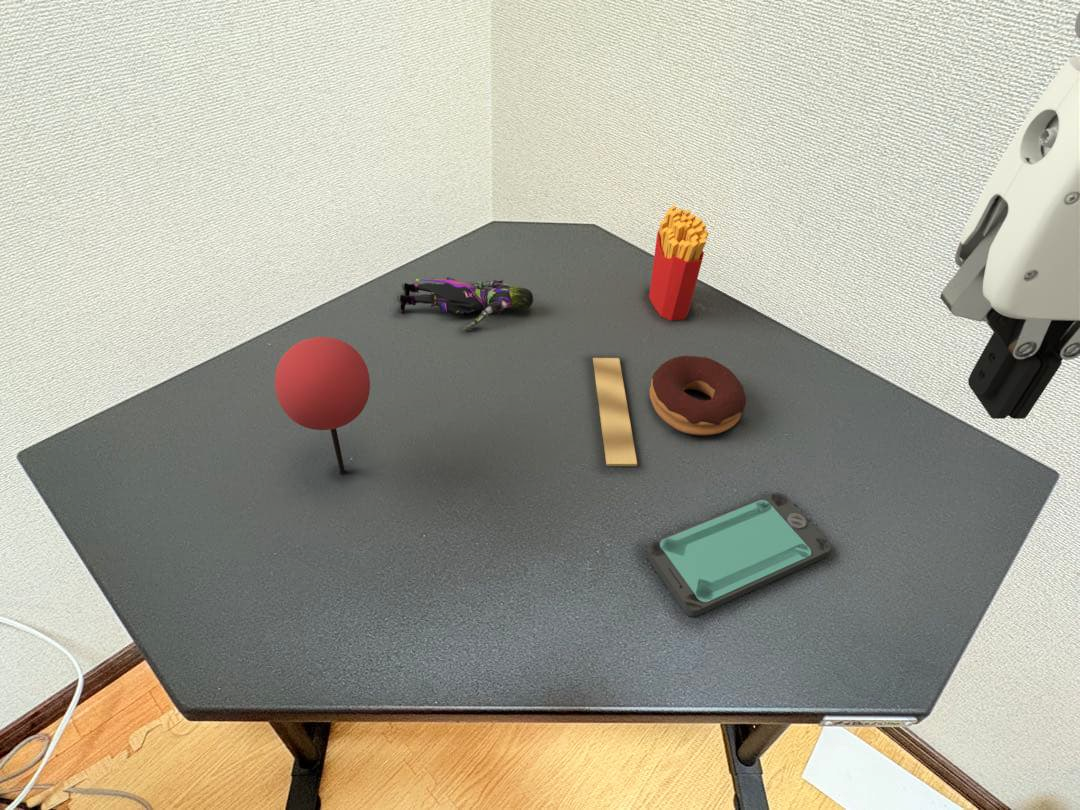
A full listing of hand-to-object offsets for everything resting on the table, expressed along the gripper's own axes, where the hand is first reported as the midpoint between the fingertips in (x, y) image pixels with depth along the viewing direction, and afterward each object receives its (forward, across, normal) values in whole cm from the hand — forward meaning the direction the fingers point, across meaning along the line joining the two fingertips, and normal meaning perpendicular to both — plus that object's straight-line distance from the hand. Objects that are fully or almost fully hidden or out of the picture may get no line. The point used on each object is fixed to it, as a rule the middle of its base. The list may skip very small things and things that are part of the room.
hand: (994, 400), depth 39 cm
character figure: (+26, -32, +45) cm, 61 cm away
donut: (+26, -7, +28) cm, 39 cm away
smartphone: (+27, -6, +9) cm, 29 cm away
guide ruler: (+26, -16, +27) cm, 41 cm away
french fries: (+26, -7, +46) cm, 53 cm away
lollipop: (+26, -42, +18) cm, 53 cm away
